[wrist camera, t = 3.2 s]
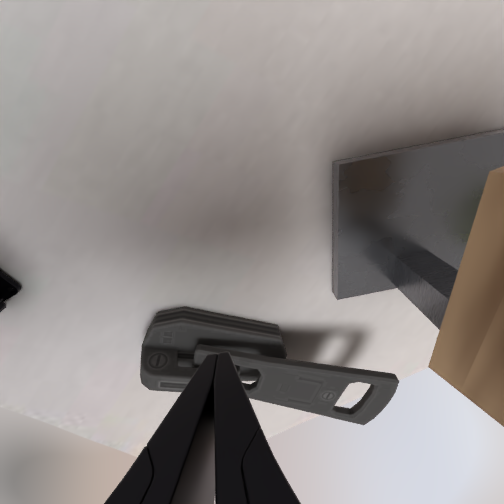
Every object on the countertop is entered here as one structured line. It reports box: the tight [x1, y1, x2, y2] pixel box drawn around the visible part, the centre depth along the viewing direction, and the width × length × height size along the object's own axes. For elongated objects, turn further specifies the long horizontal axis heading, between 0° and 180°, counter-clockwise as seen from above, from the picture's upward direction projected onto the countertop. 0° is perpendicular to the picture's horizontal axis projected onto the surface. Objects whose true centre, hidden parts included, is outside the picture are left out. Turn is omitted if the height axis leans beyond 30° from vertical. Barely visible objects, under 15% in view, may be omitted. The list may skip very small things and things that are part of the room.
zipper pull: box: [140, 307, 399, 425], centre depth 25 cm, size 9×7×25 cm
